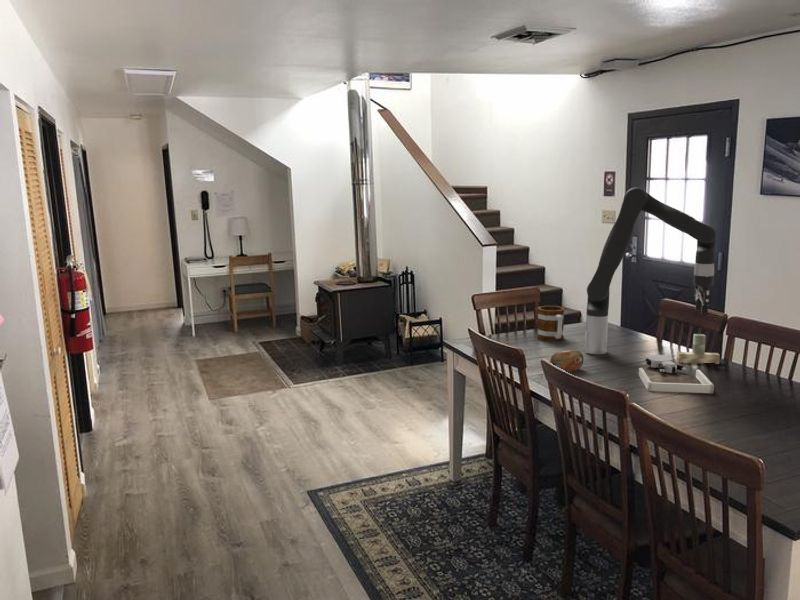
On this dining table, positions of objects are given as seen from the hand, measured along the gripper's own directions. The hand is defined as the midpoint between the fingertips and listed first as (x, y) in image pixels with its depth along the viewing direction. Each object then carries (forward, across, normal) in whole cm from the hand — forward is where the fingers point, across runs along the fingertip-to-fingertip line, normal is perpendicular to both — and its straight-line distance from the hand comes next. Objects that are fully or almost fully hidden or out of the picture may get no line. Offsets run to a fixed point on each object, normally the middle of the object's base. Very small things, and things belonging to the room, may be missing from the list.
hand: (701, 312), depth 267 cm
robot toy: (+22, +14, -17) cm, 31 cm away
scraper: (+21, +2, -1) cm, 21 cm away
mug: (+21, -32, -58) cm, 70 cm away
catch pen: (+21, +32, -17) cm, 42 cm away
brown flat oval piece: (+21, +19, -56) cm, 63 cm away
